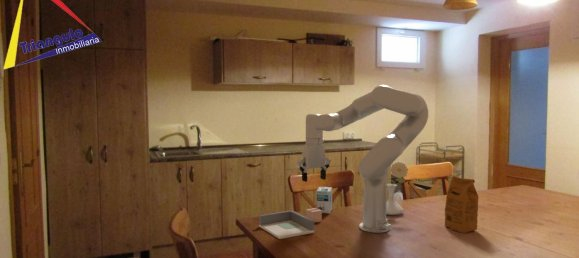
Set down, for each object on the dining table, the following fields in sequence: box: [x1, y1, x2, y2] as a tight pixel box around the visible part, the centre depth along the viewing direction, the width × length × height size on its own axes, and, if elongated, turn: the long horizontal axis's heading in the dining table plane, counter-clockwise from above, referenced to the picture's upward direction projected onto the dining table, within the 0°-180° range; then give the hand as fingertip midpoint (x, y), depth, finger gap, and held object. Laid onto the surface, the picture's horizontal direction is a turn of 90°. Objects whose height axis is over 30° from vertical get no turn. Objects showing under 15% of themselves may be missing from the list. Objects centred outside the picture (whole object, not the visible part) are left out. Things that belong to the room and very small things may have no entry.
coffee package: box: [444, 174, 479, 234], centre depth 168 cm, size 10×12×22 cm
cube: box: [305, 207, 323, 224], centre depth 180 cm, size 5×5×5 cm
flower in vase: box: [386, 161, 409, 216], centre depth 191 cm, size 13×11×25 cm
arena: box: [258, 209, 315, 240], centre depth 168 cm, size 18×16×5 cm
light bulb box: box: [316, 186, 333, 214], centre depth 198 cm, size 11×7×11 cm, turn 168°
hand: (313, 180), depth 179 cm, fingers open, 9 cm apart
